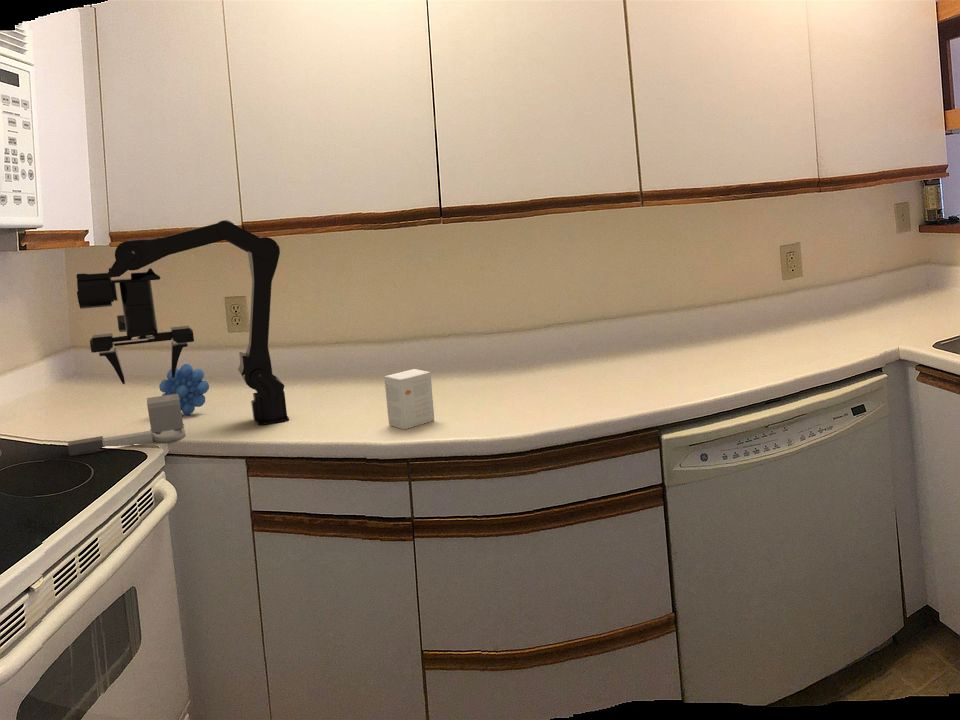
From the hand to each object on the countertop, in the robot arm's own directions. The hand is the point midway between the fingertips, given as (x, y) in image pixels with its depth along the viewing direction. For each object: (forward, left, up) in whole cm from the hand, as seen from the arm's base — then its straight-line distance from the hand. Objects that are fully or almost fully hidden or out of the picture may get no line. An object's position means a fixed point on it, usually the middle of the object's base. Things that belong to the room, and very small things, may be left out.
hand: (148, 380), depth 149 cm
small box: (-48, +21, -13) cm, 54 cm away
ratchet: (+5, +1, -12) cm, 14 cm away
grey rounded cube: (-2, +1, -10) cm, 10 cm away
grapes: (-7, -18, -13) cm, 23 cm away
